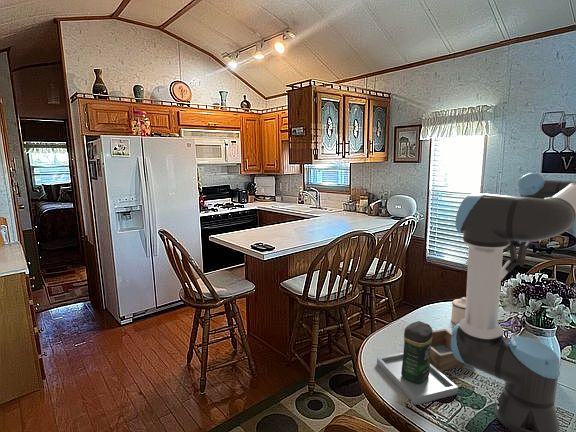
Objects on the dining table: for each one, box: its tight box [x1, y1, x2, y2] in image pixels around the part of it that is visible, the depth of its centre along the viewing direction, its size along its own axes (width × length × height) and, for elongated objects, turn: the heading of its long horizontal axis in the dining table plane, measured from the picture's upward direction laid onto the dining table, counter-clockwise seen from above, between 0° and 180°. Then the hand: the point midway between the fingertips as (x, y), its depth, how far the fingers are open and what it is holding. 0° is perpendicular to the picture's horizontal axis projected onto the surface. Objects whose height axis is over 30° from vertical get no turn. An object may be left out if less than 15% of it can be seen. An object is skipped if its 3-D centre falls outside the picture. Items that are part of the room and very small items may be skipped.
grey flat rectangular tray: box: [376, 352, 459, 406], centre depth 120 cm, size 22×16×2 cm
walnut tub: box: [430, 328, 467, 372], centre depth 132 cm, size 15×15×6 cm
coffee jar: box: [401, 320, 434, 384], centre depth 118 cm, size 10×8×19 cm
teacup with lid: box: [450, 296, 466, 326], centre depth 158 cm, size 12×9×12 cm
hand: (482, 270), depth 126 cm, fingers open, 13 cm apart
